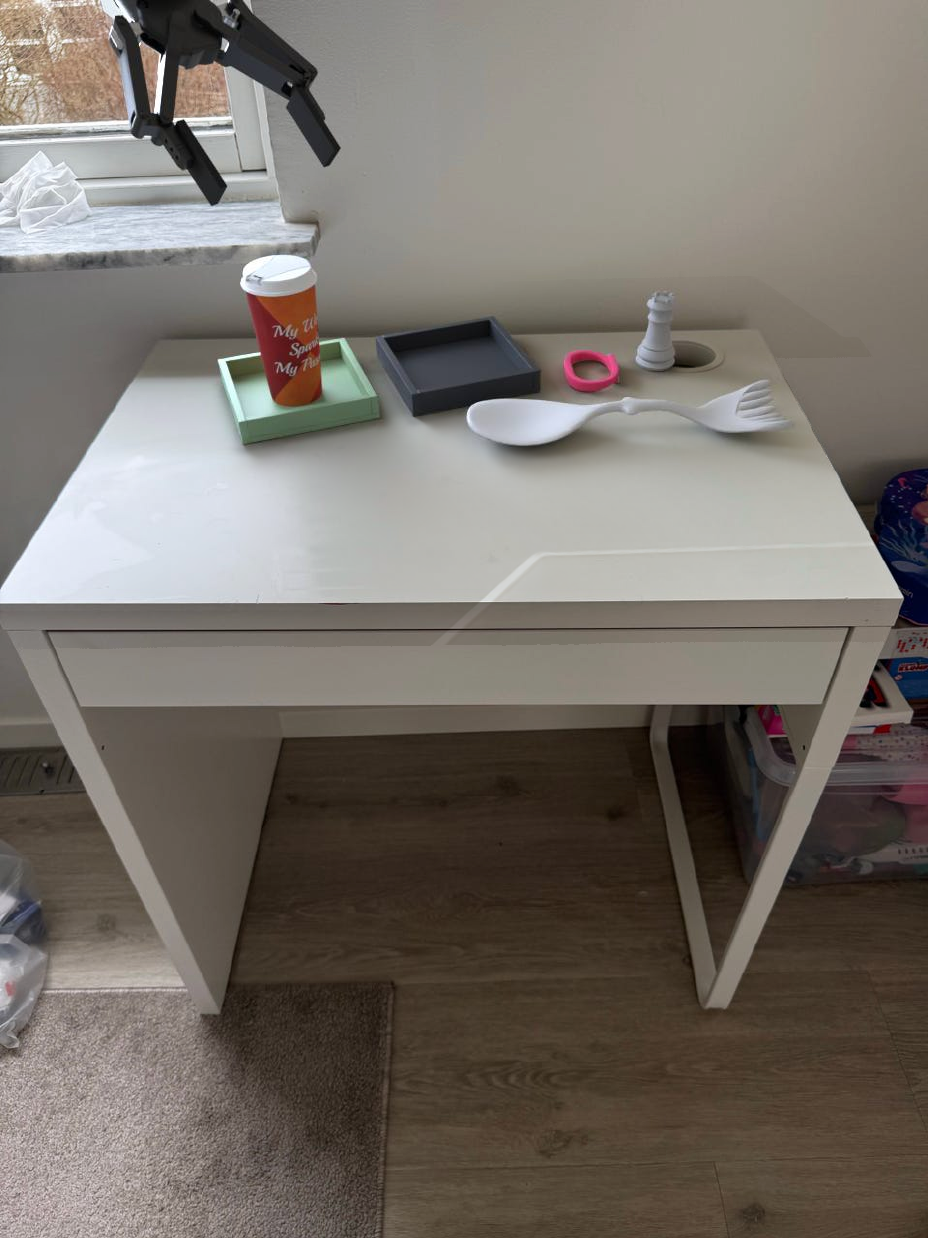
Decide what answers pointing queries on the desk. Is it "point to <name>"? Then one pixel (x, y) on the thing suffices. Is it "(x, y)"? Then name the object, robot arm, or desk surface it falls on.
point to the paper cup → (286, 326)
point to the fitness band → (586, 384)
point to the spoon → (556, 420)
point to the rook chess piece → (658, 334)
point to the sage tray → (338, 405)
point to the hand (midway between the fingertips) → (278, 176)
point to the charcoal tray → (456, 365)
